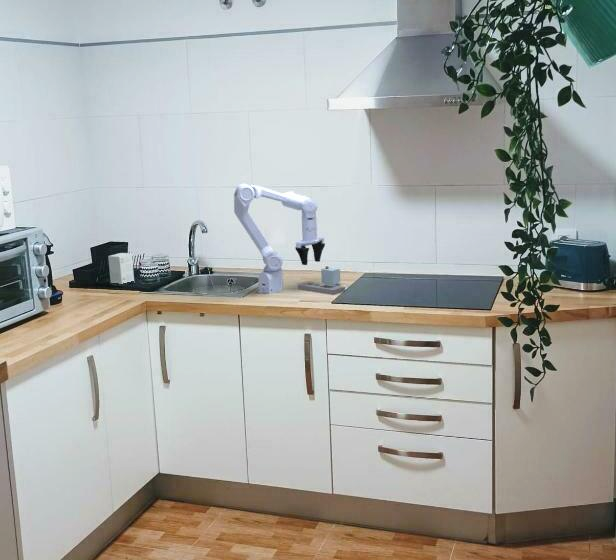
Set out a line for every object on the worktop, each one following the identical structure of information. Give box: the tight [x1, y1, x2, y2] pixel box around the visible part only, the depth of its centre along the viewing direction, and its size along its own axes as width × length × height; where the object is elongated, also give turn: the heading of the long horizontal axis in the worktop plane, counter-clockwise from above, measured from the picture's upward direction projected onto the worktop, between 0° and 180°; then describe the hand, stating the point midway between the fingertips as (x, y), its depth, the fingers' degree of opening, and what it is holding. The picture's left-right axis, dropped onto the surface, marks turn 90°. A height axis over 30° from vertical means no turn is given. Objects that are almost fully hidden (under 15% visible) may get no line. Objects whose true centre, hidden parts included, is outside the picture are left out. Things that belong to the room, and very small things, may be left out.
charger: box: [320, 265, 341, 286], centre depth 320 cm, size 5×6×8 cm
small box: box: [107, 252, 135, 284], centre depth 339 cm, size 8×6×13 cm
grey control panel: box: [297, 281, 346, 296], centre depth 312 cm, size 7×18×3 cm, turn 48°
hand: (311, 263), depth 317 cm, fingers open, 7 cm apart
